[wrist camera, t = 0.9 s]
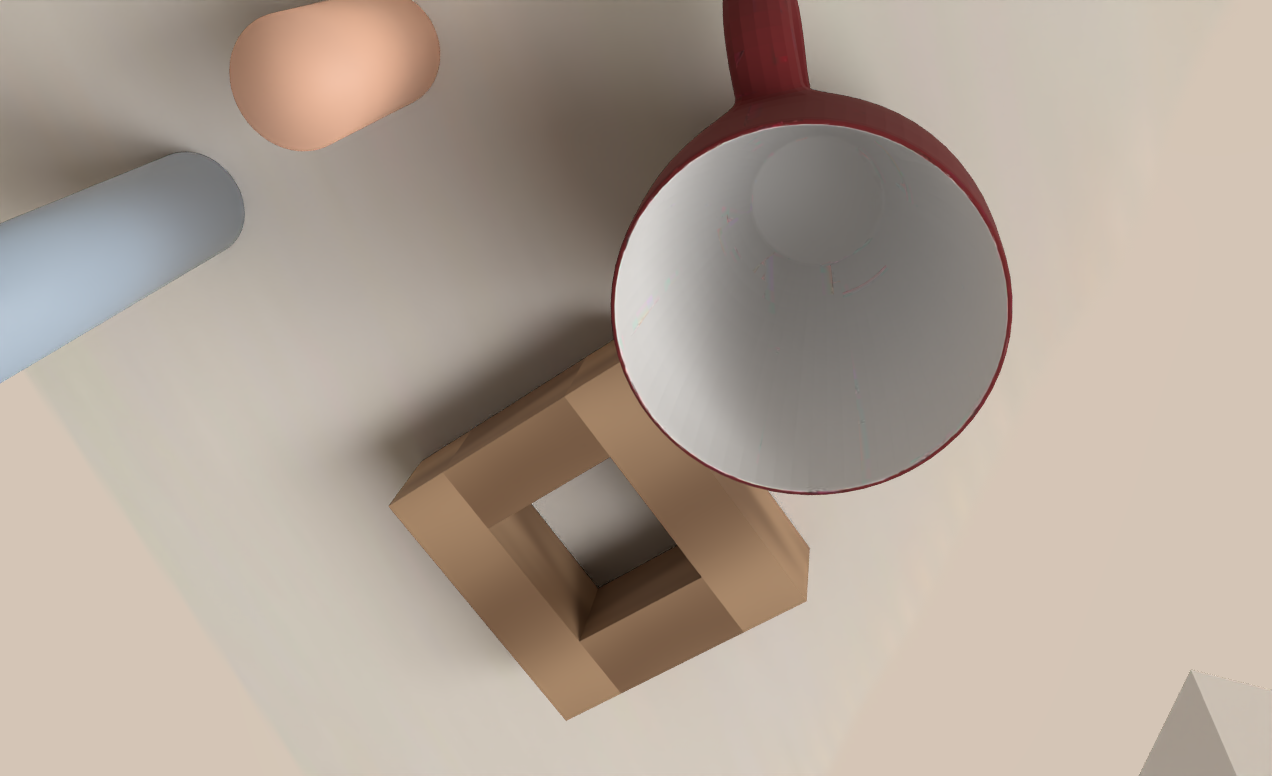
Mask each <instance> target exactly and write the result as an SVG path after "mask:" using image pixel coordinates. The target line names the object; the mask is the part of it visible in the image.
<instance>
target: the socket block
mask: <svg viewBox="0 0 1272 776" xmlns="http://www.w3.org/2000/svg"><path fill="white" fill-rule="evenodd" d="M609 457H611V458H612V460H613V461H614V462H615V464H616V465H617V466H618V468H619V469H620V470H621V472H622V473H623V474H624V476H625V477H626V478H627V480H628V481H629V482H630V483H631V485H632V486H633V487H634V489H635V490H636V491H637V493H638V494H639V495H640V497H641V498H642V499H643V501H644V502H645V503H646V504H647V506H648V507H649V508H650V510H651V511H652V512H653V514H654V515H655V516H656V518H657V519H658V520H659V522H660V523H661V524H662V526H663V527H664V528H665V529H666V531H667V532H668V533H669V535H670V536H671V537H672V539H673V540H674V541H675V543H676V544H677V545H678V546H676V547H674V548H672V549H670V550H668V551H666V552H665V553H663V554H661V555H659V556H657V557H655V558H654V559H652V560H650V561H648V562H646V563H644V564H642V565H641V566H639V567H637V568H635V569H633V570H631V571H630V572H628V573H626V574H624V575H622V576H620V577H618V578H617V579H615V580H613V581H611V582H609V583H607V584H606V585H604V586H602V587H600V588H597V587H596V585H595V584H594V583H593V581H592V580H591V579H590V578H589V576H588V575H587V574H586V573H585V571H584V570H583V569H582V568H581V566H580V565H579V564H578V563H577V561H576V560H575V559H574V557H573V556H572V555H571V554H570V552H569V551H568V550H567V549H566V547H565V546H564V545H563V544H562V542H561V541H560V540H559V538H558V537H557V536H556V535H555V533H554V532H553V531H552V530H551V528H550V527H549V526H548V525H547V523H546V522H545V521H544V520H543V518H542V517H541V516H540V514H539V513H538V512H537V511H536V509H535V508H534V507H533V506H532V504H531V503H533V502H535V501H536V500H538V499H540V498H541V497H543V496H545V495H547V494H548V493H550V492H552V491H553V490H555V489H557V488H558V487H560V486H562V485H563V484H565V483H567V482H569V481H570V480H572V479H574V478H575V477H577V476H579V475H580V474H582V473H584V472H586V471H587V470H589V469H591V468H592V467H594V466H596V465H597V464H599V463H601V462H602V461H604V460H606V459H608V458H609ZM389 508H390V509H391V510H392V511H393V512H394V514H395V515H396V516H397V517H398V518H399V520H400V521H401V522H402V523H403V524H404V526H405V527H406V528H407V529H408V531H409V532H410V533H411V534H412V535H413V537H414V538H415V539H416V540H417V541H418V543H419V544H420V545H421V546H422V547H423V549H424V550H425V551H426V552H427V553H428V555H429V556H430V557H431V558H432V559H433V561H434V562H435V563H436V564H437V566H438V567H439V568H440V569H441V570H442V572H443V573H444V574H445V575H446V576H447V578H448V579H449V580H450V581H451V582H452V584H453V585H454V586H455V587H456V588H457V590H458V591H459V592H460V593H461V595H462V596H463V597H464V598H465V599H466V601H467V602H468V603H469V604H470V605H471V607H472V608H473V609H474V610H475V611H476V613H477V614H478V615H479V616H480V617H481V619H482V620H483V621H484V622H485V623H486V625H487V626H488V627H489V628H490V630H491V631H492V632H493V633H494V634H495V636H496V637H497V638H498V639H499V640H500V642H501V643H502V644H503V645H504V646H505V648H506V649H507V650H508V651H509V652H510V654H511V655H512V656H513V657H514V658H515V660H516V661H517V662H518V663H519V665H520V666H521V667H522V668H523V669H524V671H525V672H526V673H527V674H528V675H529V677H530V678H531V679H532V680H533V681H534V683H535V684H536V685H537V686H538V687H539V689H540V690H541V691H542V692H543V693H544V695H545V696H546V697H547V698H548V700H549V701H550V702H551V703H552V704H553V706H554V707H555V708H556V709H557V710H558V712H559V713H560V714H561V715H562V716H563V718H564V719H565V720H566V721H567V720H569V719H571V718H573V717H575V716H577V715H579V714H581V713H583V712H585V711H587V710H589V709H591V708H593V707H595V706H597V705H599V704H601V703H603V702H605V701H607V700H609V699H611V698H613V697H615V696H617V695H619V694H621V693H623V692H625V691H627V690H629V689H631V688H633V687H635V686H637V685H639V684H641V683H643V682H645V681H647V680H649V679H651V678H653V677H655V676H657V675H659V674H661V673H663V672H665V671H667V670H669V669H671V668H673V667H675V666H677V665H679V664H681V663H683V662H685V661H687V660H689V659H691V658H693V657H695V656H697V655H699V654H701V653H703V652H705V651H707V650H709V649H711V648H713V647H715V646H717V645H719V644H721V643H723V642H725V641H727V640H729V639H731V638H733V637H735V636H737V635H739V634H741V633H743V632H745V631H747V630H749V629H751V628H753V627H755V626H757V625H759V624H761V623H763V622H765V621H767V620H769V619H771V618H773V617H775V616H777V615H779V614H782V613H784V612H786V611H788V610H790V609H792V608H794V607H796V606H798V605H800V604H802V603H804V602H806V601H807V585H808V568H809V550H810V548H809V547H808V545H807V544H806V542H805V541H804V540H803V538H802V537H801V536H800V534H799V533H798V531H797V530H796V529H795V527H794V526H793V525H792V523H791V522H790V520H789V519H788V518H787V516H786V515H785V514H784V512H783V511H782V509H781V508H780V507H779V505H778V504H777V503H776V501H775V500H774V498H773V497H772V496H771V494H770V493H769V492H768V490H764V489H760V488H756V487H752V486H749V485H746V484H743V483H740V482H737V481H735V480H732V479H730V478H728V477H725V476H723V475H720V474H719V473H717V472H715V471H713V470H711V469H709V468H707V467H705V466H704V465H702V464H701V463H699V462H698V461H696V460H695V459H693V458H691V457H690V456H689V455H687V454H686V453H685V452H683V451H682V450H681V449H680V448H678V447H677V446H676V445H675V444H674V443H673V442H672V441H670V440H669V439H668V438H667V437H666V436H665V435H664V434H663V433H662V432H661V431H660V430H659V428H658V427H657V426H656V425H655V424H654V423H653V422H652V420H651V419H650V418H649V416H648V415H647V414H646V412H645V411H644V410H643V408H642V407H641V405H640V404H639V402H638V400H637V399H636V397H635V395H634V394H633V392H632V390H631V388H630V386H629V384H628V382H627V379H626V377H625V375H624V373H623V370H622V367H621V364H620V361H619V358H618V355H617V351H616V347H615V343H614V340H612V341H611V342H609V343H608V344H606V345H605V346H603V347H601V348H600V349H598V350H597V351H595V352H593V353H592V354H590V355H589V356H587V357H586V358H584V359H582V360H581V361H579V362H578V363H576V364H575V365H573V366H571V367H570V368H568V369H567V370H565V371H563V372H562V373H560V374H559V375H557V376H556V377H554V378H552V379H551V380H549V381H548V382H546V383H545V384H543V385H541V386H540V387H538V388H537V389H535V390H533V391H532V392H530V393H529V394H527V395H526V396H524V397H522V398H521V399H519V400H518V401H516V402H515V403H513V404H511V405H510V406H508V407H507V408H505V409H503V410H502V411H500V412H499V413H497V414H496V415H494V416H492V417H491V418H489V419H488V420H486V421H484V422H483V423H481V424H480V425H478V426H477V427H475V428H473V429H472V430H470V431H469V432H467V433H466V434H464V435H462V436H461V437H459V438H458V439H456V440H454V441H453V442H451V443H450V444H448V445H447V446H445V447H443V448H442V449H440V450H439V451H437V452H436V453H434V454H432V455H431V456H429V457H428V458H426V459H424V460H423V461H421V462H420V464H419V465H418V467H417V468H416V469H415V471H414V472H413V473H412V475H411V476H410V477H409V479H408V480H407V482H406V483H405V484H404V486H403V487H402V488H401V490H400V491H399V492H398V494H397V495H396V497H395V498H394V499H393V501H392V502H391V503H390V505H389Z"/></svg>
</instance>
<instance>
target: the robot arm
mask: <svg viewBox="0 0 1272 776" xmlns="http://www.w3.org/2000/svg"><path fill="white" fill-rule="evenodd" d="M1139 776H1272V690H1271V689H1266V688H1262V687H1259V686H1255V685H1250V684H1247V683H1242V682H1239V681H1235V680H1231V679H1226V678H1223V677H1219V676H1215V675H1211V674H1206V673H1203V672H1199V671H1195V670H1190V672H1189V674H1188V677H1187V679H1186V681H1185V683H1184V685H1183V687H1182V689H1181V691H1180V693H1179V695H1178V697H1177V699H1176V701H1175V703H1174V705H1173V707H1172V709H1171V711H1170V713H1169V715H1168V717H1167V719H1166V721H1165V723H1164V726H1163V727H1162V729H1161V732H1160V734H1159V736H1158V738H1157V740H1156V742H1155V744H1154V746H1153V748H1152V750H1151V752H1150V754H1149V756H1148V758H1147V760H1146V762H1145V764H1144V766H1143V768H1142V770H1141V772H1140V774H1139Z"/></svg>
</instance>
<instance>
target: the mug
mask: <svg viewBox="0 0 1272 776" xmlns="http://www.w3.org/2000/svg"><path fill="white" fill-rule="evenodd" d="M723 25H724V36H725V44H726V51H727V58H728V64H729V70H730V75H731V80H732V85H733V90H734V95H735V104H734V106H733V107H732V108H731V109H730V110H729V111H728V112H727V113H726V114H724V115H723V116H722V117H720V118H719V119H718V120H716V121H715V122H714V123H713V124H711V125H710V126H709V127H707V128H706V129H705V130H703V131H702V132H701V133H700V134H699V135H697V136H696V137H695V138H694V139H693V140H692V141H690V142H689V143H688V144H687V145H686V146H685V147H684V148H683V149H682V150H681V151H680V152H679V153H678V154H677V155H676V156H675V157H674V158H673V159H672V160H671V161H670V163H669V164H668V165H667V166H666V167H665V169H664V170H663V171H662V172H661V173H660V175H659V176H658V178H657V179H656V181H655V182H654V184H653V185H652V187H651V188H650V190H649V191H648V193H647V195H646V196H645V198H644V199H643V201H642V203H641V205H640V207H639V209H638V211H637V213H636V214H635V216H634V218H633V220H632V222H631V224H630V226H629V228H628V230H627V233H626V235H625V238H624V240H623V243H622V245H621V248H620V251H619V255H618V258H617V262H616V265H615V271H614V277H613V282H612V293H611V323H612V330H613V338H614V343H615V347H616V351H617V355H618V358H619V361H620V364H621V367H622V370H623V373H624V375H625V377H626V379H627V382H628V384H629V386H630V388H631V390H632V392H633V394H634V395H635V397H636V399H637V400H638V402H639V404H640V405H641V407H642V408H643V410H644V411H645V412H646V414H647V415H648V416H649V418H650V419H651V420H652V422H653V423H654V424H655V425H656V426H657V427H658V428H659V430H660V431H661V432H662V433H663V434H664V435H665V436H666V437H667V438H668V439H669V440H670V441H672V442H673V443H674V444H675V445H676V446H677V447H678V448H680V449H681V450H682V451H683V452H685V453H686V454H687V455H689V456H690V457H691V458H693V459H695V460H696V461H698V462H699V463H701V464H702V465H704V466H705V467H707V468H709V469H711V470H713V471H715V472H717V473H719V474H720V475H723V476H725V477H728V478H730V479H732V480H735V481H737V482H740V483H743V484H746V485H749V486H752V487H756V488H760V489H764V490H769V491H773V492H780V493H787V494H800V495H826V494H836V493H844V492H850V491H855V490H859V489H864V488H867V487H871V486H874V485H878V484H881V483H884V482H886V481H889V480H891V479H894V478H896V477H899V476H901V475H903V474H905V473H907V472H909V471H911V470H913V469H914V468H916V467H918V466H919V465H921V464H923V463H924V462H926V461H927V460H929V459H931V458H932V457H933V456H935V455H936V454H937V453H939V452H940V451H941V450H943V449H944V448H945V447H946V446H947V445H949V444H950V443H951V442H952V441H953V440H954V439H955V438H956V437H957V436H958V435H959V434H960V433H961V432H962V431H963V430H964V429H965V428H966V426H967V425H968V424H969V423H970V422H971V421H972V420H973V418H974V417H975V415H976V414H977V413H978V411H979V410H980V409H981V407H982V406H983V404H984V403H985V401H986V399H987V397H988V396H989V394H990V392H991V391H992V389H993V387H994V384H995V382H996V380H997V378H998V376H999V373H1000V371H1001V368H1002V365H1003V362H1004V359H1005V356H1006V352H1007V348H1008V343H1009V338H1010V332H1011V323H1012V289H1011V279H1010V273H1009V269H1008V264H1007V260H1006V256H1005V253H1004V249H1003V246H1002V243H1001V240H1000V237H999V234H998V231H997V228H996V225H995V222H994V220H993V217H992V215H991V213H990V210H989V208H988V206H987V204H986V202H985V199H984V197H983V195H982V194H981V192H980V190H979V189H978V187H977V185H976V184H975V182H974V180H973V179H972V178H971V176H970V175H969V173H968V172H967V171H966V169H965V168H964V167H963V165H962V164H961V163H960V161H959V160H958V159H957V158H956V157H955V156H954V155H953V154H952V153H951V152H950V151H949V150H948V148H947V147H946V146H944V145H943V144H942V143H941V142H940V141H939V140H937V139H936V138H935V137H934V136H933V135H932V134H930V133H929V132H928V131H926V130H925V129H923V128H922V127H921V126H919V125H918V124H916V123H915V122H913V121H911V120H909V119H908V118H906V117H904V116H902V115H901V114H899V113H896V112H894V111H892V110H890V109H887V108H885V107H883V106H880V105H877V104H874V103H871V102H868V101H865V100H861V99H857V98H853V97H848V96H844V95H838V94H833V93H827V92H822V91H817V90H813V89H811V88H810V84H809V79H808V72H807V64H806V55H805V46H804V37H803V30H802V23H801V17H800V11H799V6H798V1H797V0H723Z"/></svg>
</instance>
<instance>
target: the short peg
mask: <svg viewBox="0 0 1272 776" xmlns="http://www.w3.org/2000/svg"><path fill="white" fill-rule="evenodd" d="M439 63H440V46H439V41H438V37H437V34H436V31H435V28H434V26H433V24H432V22H431V21H430V19H429V18H428V16H427V15H426V13H425V12H424V11H423V10H422V9H421V8H420V7H419V6H418V5H417V4H416V3H415V2H413V1H412V0H327V1H323V2H318V3H314V4H310V5H305V6H301V7H297V8H292V9H288V10H284V11H279V12H275V13H271V14H268V15H265V16H262V17H260V18H258V19H256V20H255V21H254V22H252V23H251V24H250V25H248V26H247V27H246V28H245V30H244V31H243V32H242V33H241V35H240V36H239V37H238V39H237V41H236V43H235V45H234V48H233V51H232V54H231V59H230V69H229V73H230V83H231V89H232V92H233V96H234V99H235V101H236V104H237V106H238V108H239V110H240V111H241V113H242V115H243V116H244V118H245V119H246V121H247V122H248V123H249V124H250V125H251V127H252V128H253V129H254V130H255V131H257V132H258V133H259V134H260V135H261V136H262V137H264V138H265V139H267V140H268V141H270V142H272V143H274V144H275V145H278V146H280V147H283V148H286V149H290V150H295V151H312V150H317V149H321V148H324V147H326V146H328V145H330V144H332V143H334V142H336V141H338V140H340V139H342V138H344V137H346V136H348V135H350V134H352V133H354V132H356V131H358V130H360V129H362V128H364V127H366V126H367V125H369V124H371V123H373V122H375V121H377V120H379V119H381V118H383V117H385V116H387V115H389V114H391V113H393V112H395V111H397V110H399V109H401V108H403V107H405V106H407V105H409V104H411V103H413V102H415V101H416V100H418V99H419V98H421V97H422V96H423V95H424V94H425V93H426V92H427V91H428V90H429V88H430V87H431V85H432V84H433V82H434V80H435V78H436V75H437V72H438V69H439Z"/></svg>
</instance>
